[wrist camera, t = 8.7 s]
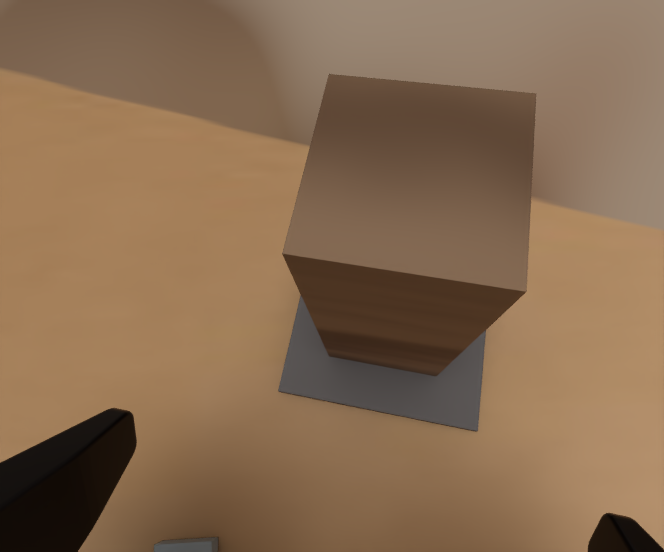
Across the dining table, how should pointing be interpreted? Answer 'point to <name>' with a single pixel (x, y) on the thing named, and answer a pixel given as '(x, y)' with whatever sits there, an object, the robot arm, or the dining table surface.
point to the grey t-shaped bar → (188, 545)
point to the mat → (384, 380)
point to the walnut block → (412, 218)
